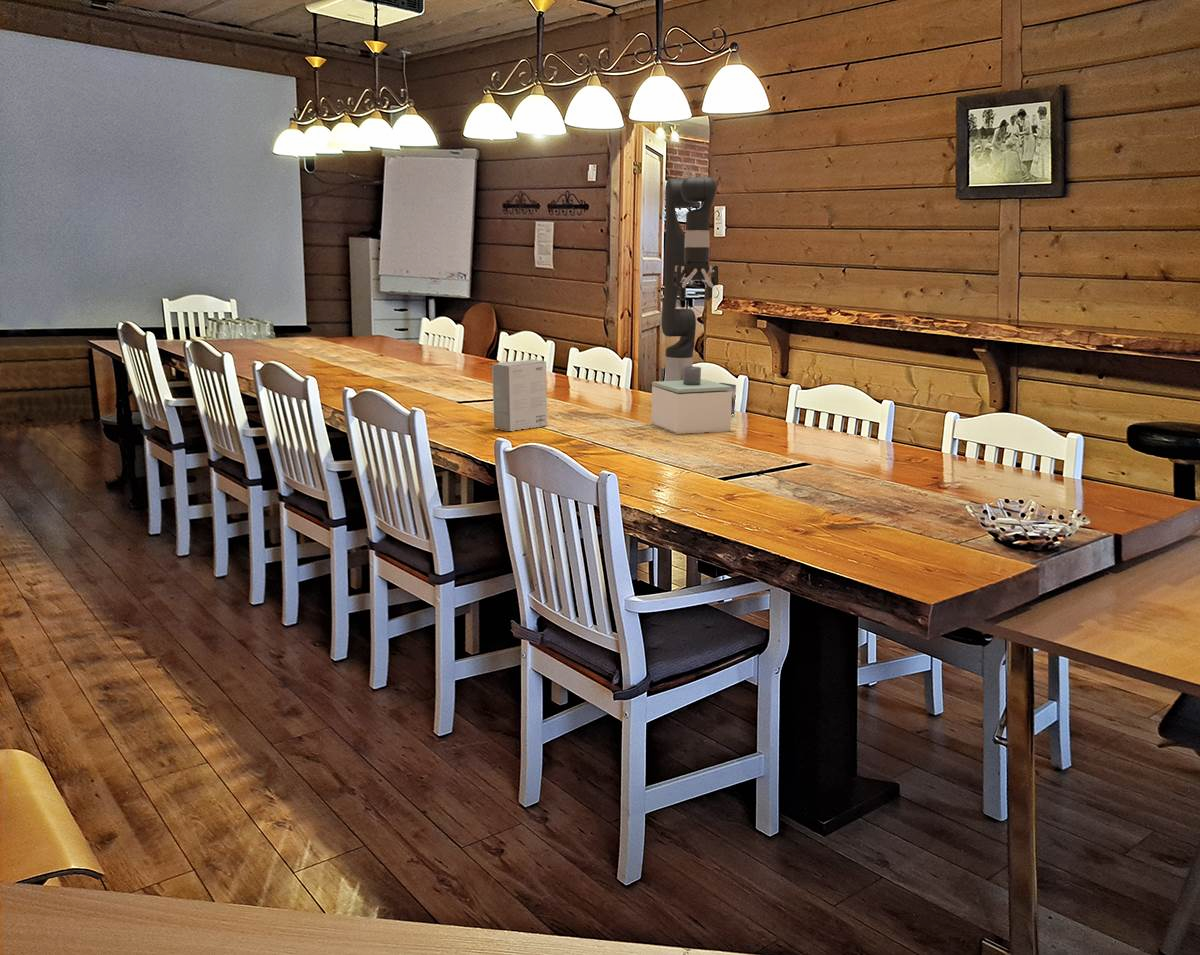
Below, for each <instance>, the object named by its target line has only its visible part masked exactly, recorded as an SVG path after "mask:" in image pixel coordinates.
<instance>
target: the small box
mask: <svg viewBox="0 0 1200 955" xmlns="http://www.w3.org/2000/svg"><path fill="white" fill-rule="evenodd" d="M719 383H720V384H724V385H727V386H731V387H732V390H728V391H732V407H731V415H732V414H734V415H735V413H736V412H735V411H736V407H735V406H736V391H737V388H736V387H737V384H732V383H728V382H727V383H725V382H719Z"/></svg>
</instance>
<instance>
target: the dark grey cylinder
mask: <svg viewBox="0 0 1200 955" xmlns="http://www.w3.org/2000/svg"><path fill="white" fill-rule="evenodd" d="M701 372H702V367H701V366H693V367H684V373H683V384H684V385H700V381H701V380H702V379H701V378H702V377H701V375H702V373H701Z"/></svg>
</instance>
